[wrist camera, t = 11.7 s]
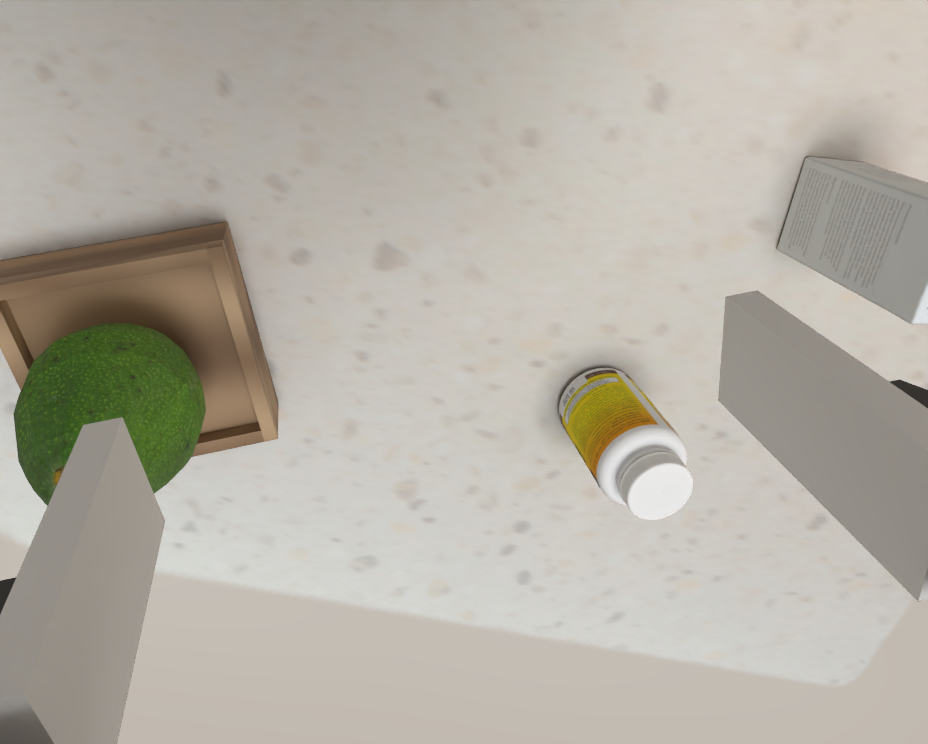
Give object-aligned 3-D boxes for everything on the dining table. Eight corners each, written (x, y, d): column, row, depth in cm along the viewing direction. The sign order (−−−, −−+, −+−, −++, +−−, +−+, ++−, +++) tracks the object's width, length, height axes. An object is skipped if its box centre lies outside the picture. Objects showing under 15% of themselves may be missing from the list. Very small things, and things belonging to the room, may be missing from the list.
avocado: (192, 282, 38) (157, 402, 27) (227, 412, 42) (208, 560, 31) (25, 305, 37) (-77, 439, 26) (76, 437, 40) (5, 599, 30)
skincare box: (830, 252, 49) (977, 329, 38) (774, 249, 48) (909, 327, 37) (864, 157, 46) (1032, 213, 35) (804, 152, 45) (960, 208, 34)
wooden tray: (0, 260, 38) (-28, 289, 35) (227, 221, 40) (221, 246, 36) (82, 442, 44) (65, 483, 40) (278, 402, 45) (277, 438, 42)
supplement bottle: (540, 418, 50) (594, 515, 41) (586, 351, 48) (653, 437, 39) (603, 445, 52) (668, 542, 43) (649, 382, 50) (726, 470, 42)
